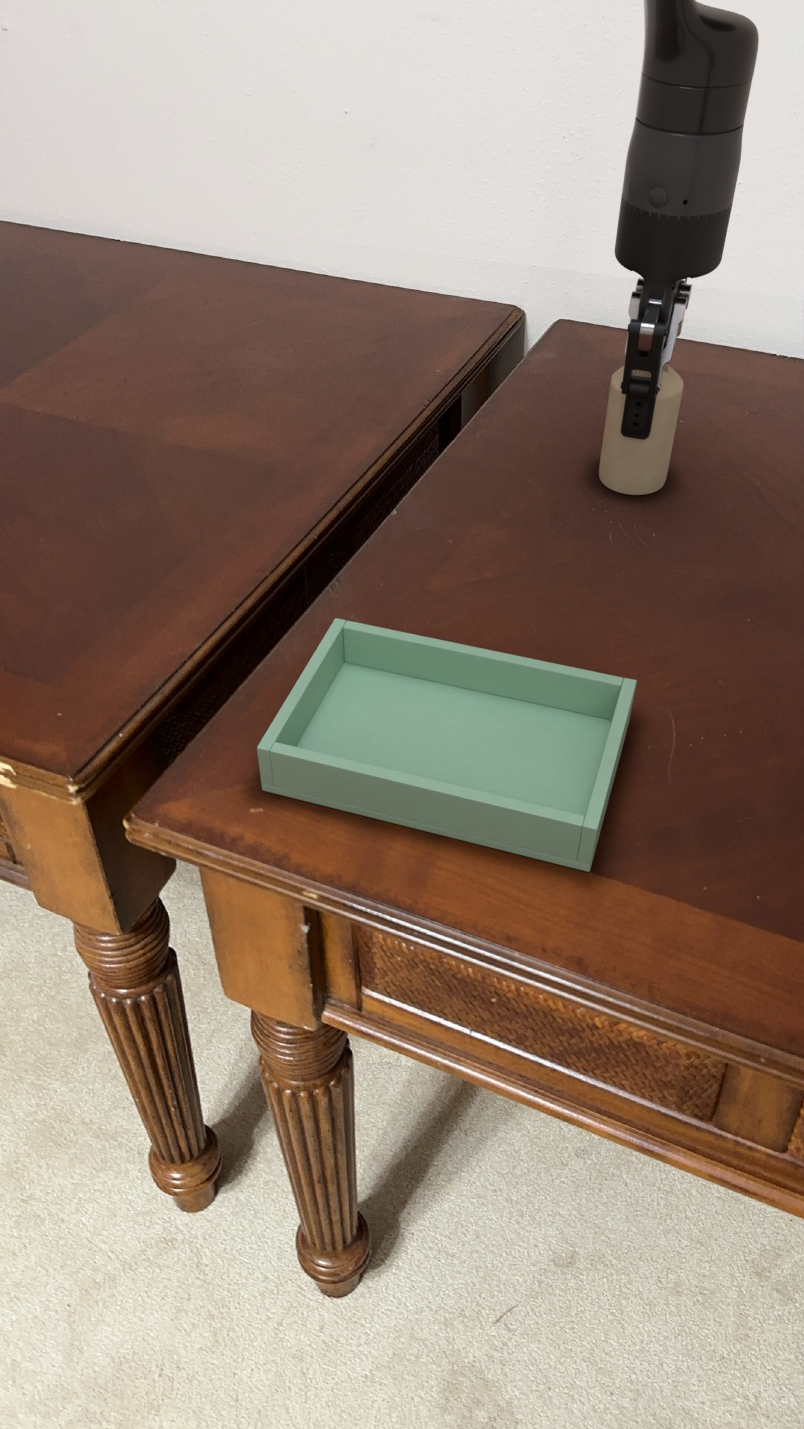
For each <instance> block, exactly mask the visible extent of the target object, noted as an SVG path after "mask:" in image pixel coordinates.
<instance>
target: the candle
mask: <svg viewBox="0 0 804 1429" xmlns="http://www.w3.org/2000/svg"><path fill="white" fill-rule="evenodd" d="M624 366H625V364H624V365H623V366H621V367H620V368H618V369H617V370H616V371H615V372H613V374H612V375H611V376H610V377H611V379H610V385H609V393H608V398H607V399H608V400H607V406H606V412H605V413H606V415H605V420H604V421H605V422H604V429H603V436H602V442H601V443H602V444H601V451H600V458H599V466H598V468H599V469H598V477H599V480H600V482H601V483H602V484H603V485H604V486H605V487H606V488H607V489H609V490H612V491H614V492H616V493H620V494H624V495H630V496H641V495H642V496H643V495H649V494H653V493H656V492H658V491H659V490H661V489H662V488H663V487H664V486H665V483H666V480H667V476H668V473H669V467H670V462H671V457H672V456H671V455H672V450H673V445H674V440H675V434H676V429H677V423H678V418H679V412H680V407H681V401H682V396H683V392H684V391H683V390H684V385H685V383H684V381H683V379H682V377H681V376H680V375H679V374H678V372H677V371H676V370H674V369H673V367H672V366H671V365H670V364H669V363H668V364H667V363H665V364H664V366H663V371H662V376H661V381H660V384H661V390H660V391H658V395H657V397H656V403H655V409H654V415H653V421H652V427H651V432H650V435H649V437H648V438H647V439H644V440H642V439H636V438H629V437H625V436H623V435H622V434H621V425H622V418H623V412H624V405H625V398H626V394H621V391H622V389H620V387H621V382H623V374H624ZM635 376H641V377H648V378H651V373H650V372H648V371H641V370H636V371H635Z"/></svg>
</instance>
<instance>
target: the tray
mask: <svg viewBox="0 0 804 1429" xmlns="http://www.w3.org/2000/svg"><path fill="white" fill-rule="evenodd" d="M330 624H331V625H330V626H329V628H328V629H327V631H326V633H325V635H324V636H323V637H322V639H321V640H320V642H319V644H318V646H317V648H316V649H315V651H314V652H313V654H312V656H311V657H310V659H309V661H308V662H307V664H306V666H305V667H304V669H303V671H302V672H301V674H300V675H299V677H298V679H297V681H296V682H295V684H294V685H293V687H292V689H291V690H290V692H289V693H288V696H286V698H285V700H284V701H283V703H282V705H281V707H280V709H278V712H277V713H276V715H275V717H274V718H273V720H272V722H271V723H270V725H269V727H268V728H267V729H266V732H264V735H263V736H262V738H261V740H259V743H258V745H257V747H256V753H257V754H256V755H257V761H258V762H257V763H258V768H259V775H260V783H261V790H262V791H263V792H267V793H270V794H275V795H279V796H283V797H288V798H292V799H296V800H299V801H304V802H307V803H311V804H315V805H319V806H324V807H327V808H331V809H336V810H339V811H344V812H347V813H352V814H355V815H359V816H362V817H366V818H367V817H368V818H371V819H375V820H378V821H379V820H380V821H383V822H387V823H391V824H396V825H399V826H403V827H407V828H411V829H415V830H419V831H423V832H426V833H431V834H434V835H435V834H436V835H439V836H443V837H447V838H451V839H455V840H459V841H464V842H468V843H471V844H475V845H479V846H484V847H487V848H491V849H496V850H498V851H499V850H500V851H504V852H507V853H511V854H515V855H519V856H524V857H527V858H531V859H536V860H540V861H543V862H547V863H552V864H556V865H559V866H563V867H567V868H571V869H575V870H579V871H584V872H588V873H589V872H591V868H592V865H593V861H594V858H595V854H596V850H597V846H598V842H599V838H600V834H601V831H602V826H603V823H604V818H605V816H606V811H607V808H608V804H609V800H610V796H611V792H612V790H613V789H612V788H613V785H614V781H615V778H616V773H617V770H618V766H619V763H620V759H621V755H622V752H623V747H624V743H625V739H626V735H627V732H628V728H629V724H630V719H631V714H632V710H633V709H632V708H633V703H634V698H635V693H636V688H637V683H638V680H637V679H632V678H628V677H622V676H618V675H613V674H609V673H602V672H598V671H593V670H588V669H584V668H580V667H574V666H570V665H564V664H560V663H555V662H549V661H545V660H540V659H535V658H531V657H526V656H520V655H516V654H511V653H506V652H501V651H498V650H497V651H496V650H493V649H488V648H482V647H477V646H472V645H468V644H462V643H458V642H454V641H449V640H443V639H439V638H434V637H429V636H424V635H419V634H414V633H409V632H405V631H400V630H395V629H390V628H386V627H380V626H377V625H376V626H375V625H371V624H366V623H362V622H357V621H351V620H346V619H343V618H337V617H335V618H334V620H333V621H332V622H331V623H330Z"/></svg>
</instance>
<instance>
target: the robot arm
mask: <svg viewBox="0 0 804 1429" xmlns="http://www.w3.org/2000/svg"><path fill="white" fill-rule="evenodd" d="M643 20H644V21H643V22H644V41H643V55H642V56H643V57H642V65H641V72H640V79H639V88H638V95H637V103H636V110H635V118H634V124H633V128H632V132H631V136H630V140H629V144H628V147H627V152H626V153H627V154H626V158H625V167H624V174H623V180H622V181H623V183H622V190H621V198H620V204H619V205H620V206H619V212H618V221H617V228H616V237H615V244H614V256H615V259H616V261H617V262H618V263H619V264H620V265H621V266H622V267H624V268H625V269H626V270H628V271H629V272H634V273H636V274H638V275H639V276H640V277H638V279H637V282H636V287H635V290H633V291H632V292H631V296H630V301H629V306H628V312H627V313H628V315H629V317H630V320H629V323H628V324H627V330H626V331H627V335H626V341H625V345H624V351H623V352H624V356H625V358H624V365H625V366H624V365H623V366H624V374H623V382H621V387H620V389H622V391H621V394H626V398H625V405H624V412H623V418H622V425H621V434H622V435H623V436H625V437H629V438H636V439H642V440H644V439H647V438H648V437H649V435H650V432H651V427H652V421H653V415H654V409H655V403H656V397H657V395H658V391H660V390H661V384H660V381H661V376H662V371H663V366H664V364H665V363H667V364H668V365H669V362H671V361H672V359H673V356H674V351H675V349H676V341H677V338H678V337H680V335H681V333H682V329H683V326H684V320H685V314H686V310H687V309H688V307H689V303H690V299H691V296H692V295H691V294H692V289H693V284H691V283H688V278H689V279H697V278H700V277H703V276H706V275H708V274H711V273H713V272H714V271H715V270H716V269H718V268H719V266H720V264H721V262H722V259H723V254H724V250H725V244H726V240H727V233H728V228H729V223H730V218H731V213H732V208H733V203H734V198H735V193H736V187H737V182H738V179H739V178H738V177H739V173H740V166H741V161H742V160H741V159H742V149H743V148H742V147H743V134H744V126H745V119H746V113H747V109H748V103H749V98H750V93H751V88H752V83H753V78H754V76H755V75H754V74H755V69H756V64H757V60H758V59H757V57H758V52H759V43H760V39H759V38H760V36H759V30H758V27H757V26H756V24H755V22H754V21H752V20H751V19H750V18H749V17H747V16H745V15H743V14H740V13H738V12H734V11H730V10H726V9H722V8H719V7H714V6H711V5H707V4H704V3H702V2H698V1H697V0H643ZM636 370H641V371H648V372H650V373H651V378H648V377H641V376H635V371H636Z"/></svg>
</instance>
